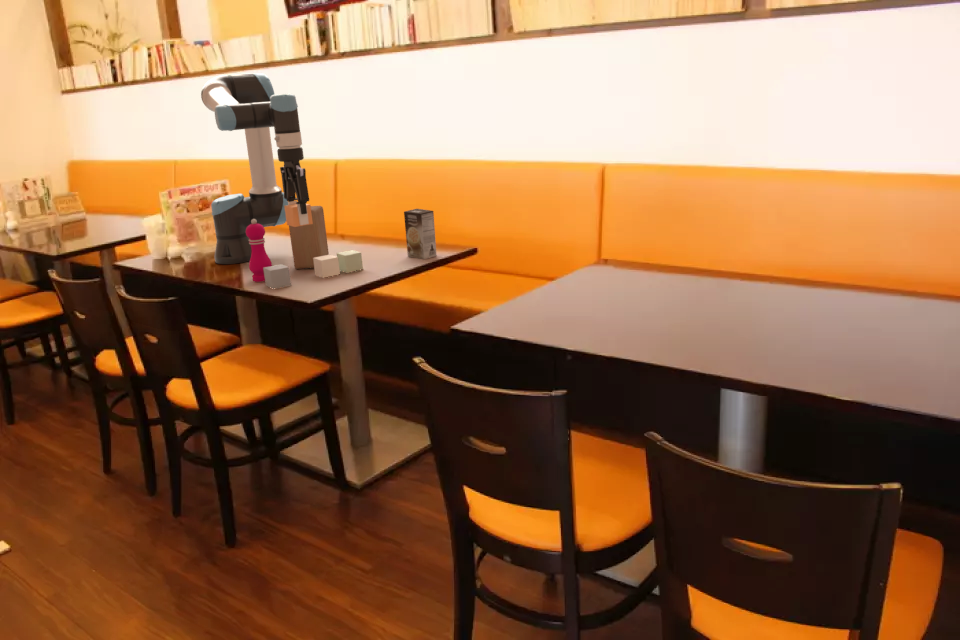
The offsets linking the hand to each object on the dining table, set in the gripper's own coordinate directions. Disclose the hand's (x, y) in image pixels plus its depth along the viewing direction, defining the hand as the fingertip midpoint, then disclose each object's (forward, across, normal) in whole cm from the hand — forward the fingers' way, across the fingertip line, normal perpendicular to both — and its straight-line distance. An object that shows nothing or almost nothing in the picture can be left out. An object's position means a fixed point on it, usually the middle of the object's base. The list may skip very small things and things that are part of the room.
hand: (299, 223), depth 239 cm
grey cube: (+19, -3, -8) cm, 21 cm away
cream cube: (+19, -3, +8) cm, 21 cm away
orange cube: (0, 0, 0) cm, 0 cm away
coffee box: (+19, -1, +44) cm, 48 cm away
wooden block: (+19, -20, +11) cm, 30 cm away
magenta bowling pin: (+19, -15, -9) cm, 26 cm away
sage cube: (+19, -3, +17) cm, 26 cm away
